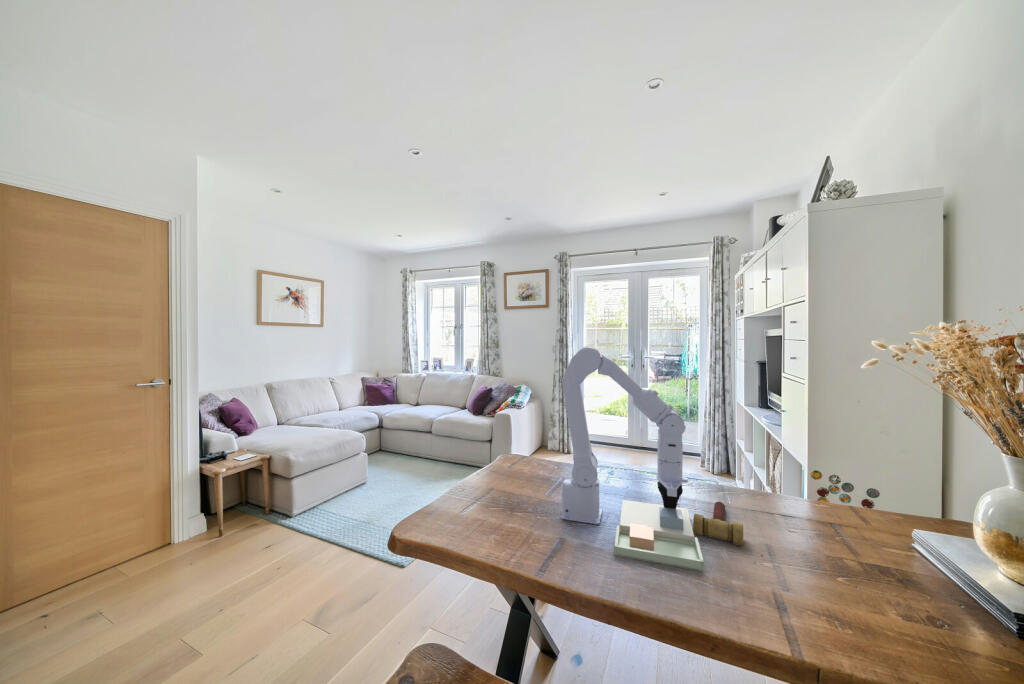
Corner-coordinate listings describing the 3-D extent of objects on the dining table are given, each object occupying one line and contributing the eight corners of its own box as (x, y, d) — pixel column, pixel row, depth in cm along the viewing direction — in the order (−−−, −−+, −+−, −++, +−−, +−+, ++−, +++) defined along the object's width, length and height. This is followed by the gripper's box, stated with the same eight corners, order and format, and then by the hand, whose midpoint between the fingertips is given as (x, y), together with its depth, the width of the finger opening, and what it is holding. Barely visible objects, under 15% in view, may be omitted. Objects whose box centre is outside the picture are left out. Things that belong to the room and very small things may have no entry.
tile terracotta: (629, 546, 82) (629, 536, 82) (630, 533, 87) (630, 523, 87) (653, 551, 80) (653, 540, 80) (653, 537, 85) (653, 526, 85)
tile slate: (660, 526, 87) (660, 516, 87) (659, 516, 92) (659, 506, 92) (683, 530, 86) (683, 519, 86) (681, 519, 90) (681, 509, 90)
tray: (614, 555, 80) (614, 546, 80) (617, 533, 88) (617, 525, 88) (703, 571, 74) (703, 561, 74) (697, 546, 83) (697, 537, 83)
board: (619, 533, 88) (619, 524, 88) (622, 507, 102) (622, 499, 102) (694, 545, 83) (694, 536, 83) (686, 516, 96) (686, 508, 96)
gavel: (699, 490, 105) (741, 498, 100) (699, 506, 105) (741, 515, 100) (693, 517, 87) (743, 528, 82) (692, 537, 87) (743, 549, 82)
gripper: (691, 471, 84) (691, 530, 84) (684, 451, 98) (684, 502, 98) (657, 467, 86) (657, 525, 86) (655, 449, 100) (655, 499, 100)
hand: (669, 513), depth 92 cm, fingers closed
